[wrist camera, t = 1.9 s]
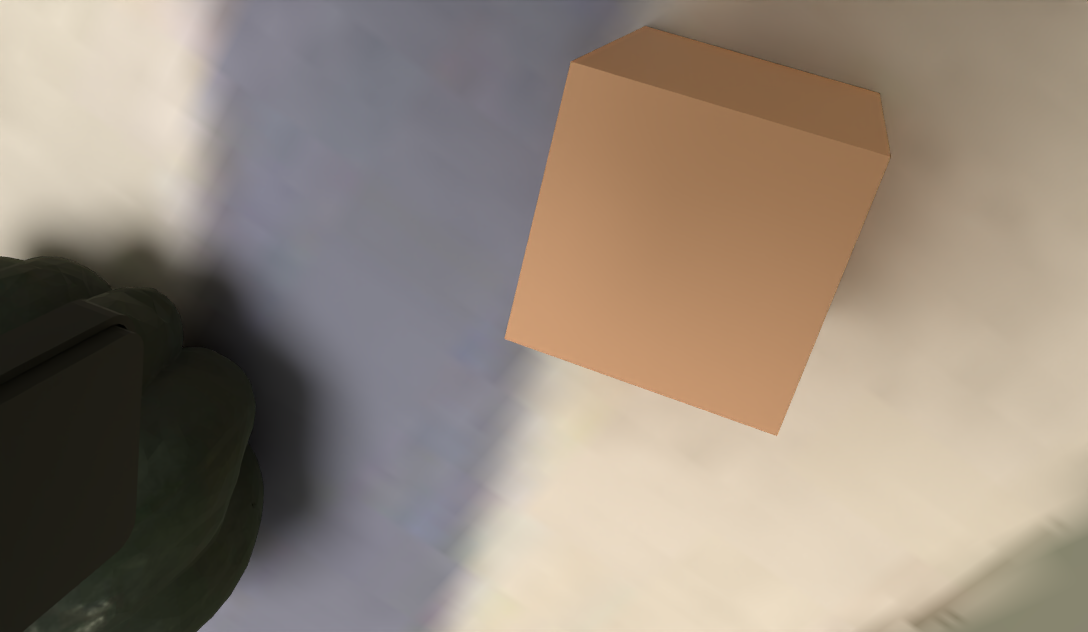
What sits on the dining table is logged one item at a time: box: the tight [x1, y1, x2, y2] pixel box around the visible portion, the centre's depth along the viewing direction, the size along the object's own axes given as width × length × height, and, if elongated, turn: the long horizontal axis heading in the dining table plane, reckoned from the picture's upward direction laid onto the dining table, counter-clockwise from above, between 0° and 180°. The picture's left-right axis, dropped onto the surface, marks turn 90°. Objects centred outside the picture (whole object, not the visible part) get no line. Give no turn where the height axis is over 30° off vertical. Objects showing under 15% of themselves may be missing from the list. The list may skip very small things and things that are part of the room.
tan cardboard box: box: [505, 26, 891, 436], centre depth 23 cm, size 6×6×8 cm
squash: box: [0, 256, 264, 632], centre depth 31 cm, size 14×15×15 cm
